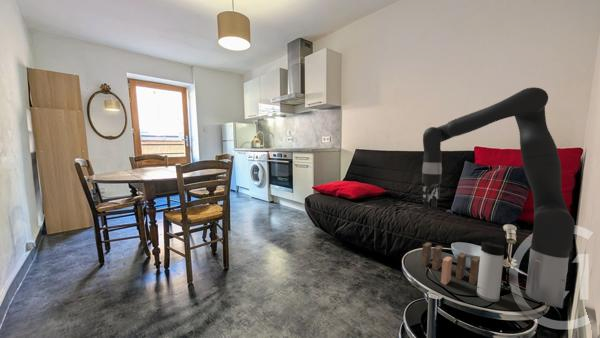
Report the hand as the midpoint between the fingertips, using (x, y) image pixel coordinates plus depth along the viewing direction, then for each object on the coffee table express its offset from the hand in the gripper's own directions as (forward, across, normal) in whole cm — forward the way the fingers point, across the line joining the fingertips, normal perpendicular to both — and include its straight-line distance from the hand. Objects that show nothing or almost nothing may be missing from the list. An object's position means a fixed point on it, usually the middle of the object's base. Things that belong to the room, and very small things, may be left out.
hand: (430, 208), depth 106 cm
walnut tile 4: (+26, -1, -18) cm, 32 cm away
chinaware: (+26, +14, -13) cm, 32 cm away
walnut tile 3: (+26, -1, -13) cm, 29 cm away
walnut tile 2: (+26, -1, -4) cm, 26 cm away
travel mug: (+26, -9, -24) cm, 37 cm away
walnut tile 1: (+26, -1, 0) cm, 26 cm away
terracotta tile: (+26, -10, -11) cm, 30 cm away
